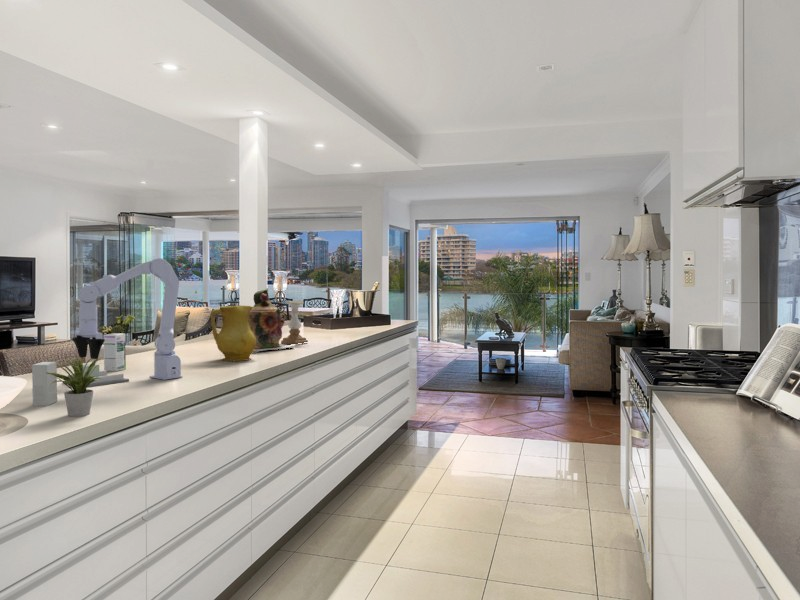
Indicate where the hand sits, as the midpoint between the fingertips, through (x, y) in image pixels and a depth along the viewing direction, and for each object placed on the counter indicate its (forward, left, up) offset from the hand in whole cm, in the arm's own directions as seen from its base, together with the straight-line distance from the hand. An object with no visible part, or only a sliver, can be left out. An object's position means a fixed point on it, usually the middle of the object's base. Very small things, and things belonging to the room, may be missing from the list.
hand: (88, 358), depth 213 cm
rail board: (-3, -1, -8) cm, 9 cm away
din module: (-3, +1, -8) cm, 8 cm away
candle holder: (+32, -135, -9) cm, 139 cm away
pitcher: (+7, -71, -9) cm, 72 cm away
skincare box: (-26, +27, -9) cm, 38 cm away
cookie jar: (+28, -108, -9) cm, 112 cm away
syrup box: (+18, -20, -9) cm, 28 cm away
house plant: (-46, +27, -9) cm, 54 cm away
